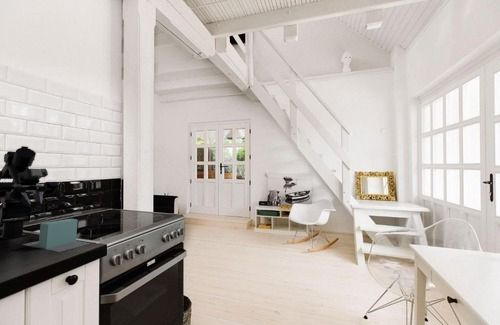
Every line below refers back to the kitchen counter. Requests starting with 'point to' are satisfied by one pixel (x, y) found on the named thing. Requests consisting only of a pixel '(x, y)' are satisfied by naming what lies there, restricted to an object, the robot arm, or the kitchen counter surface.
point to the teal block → (57, 233)
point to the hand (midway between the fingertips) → (35, 205)
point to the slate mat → (60, 247)
